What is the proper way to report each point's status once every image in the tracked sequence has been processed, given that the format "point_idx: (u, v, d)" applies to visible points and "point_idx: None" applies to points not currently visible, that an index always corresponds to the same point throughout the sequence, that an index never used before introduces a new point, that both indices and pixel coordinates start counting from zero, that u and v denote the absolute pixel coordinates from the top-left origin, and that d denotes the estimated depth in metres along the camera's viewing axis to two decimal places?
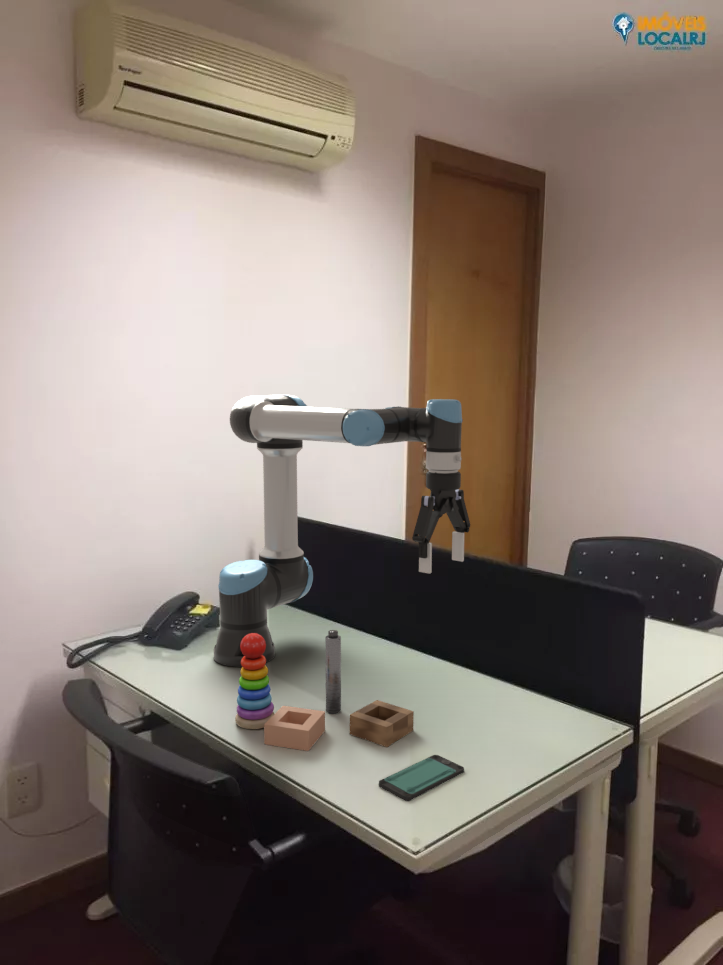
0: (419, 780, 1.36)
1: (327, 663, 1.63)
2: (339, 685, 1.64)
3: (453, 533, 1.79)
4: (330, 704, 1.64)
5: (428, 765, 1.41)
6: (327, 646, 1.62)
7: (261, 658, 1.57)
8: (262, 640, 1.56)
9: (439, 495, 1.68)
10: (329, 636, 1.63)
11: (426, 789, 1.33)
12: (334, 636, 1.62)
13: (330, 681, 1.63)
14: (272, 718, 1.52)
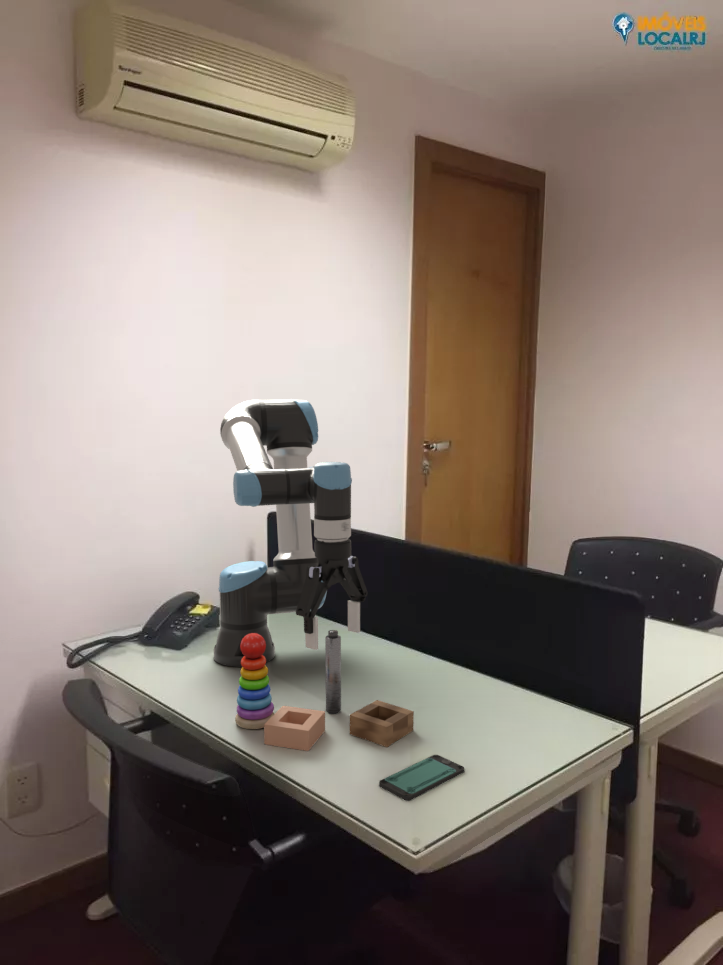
0: (420, 779, 1.36)
1: (327, 663, 1.63)
2: (339, 685, 1.64)
3: (348, 602, 1.68)
4: (330, 704, 1.64)
5: (428, 765, 1.41)
6: (327, 646, 1.62)
7: (261, 658, 1.57)
8: (262, 640, 1.56)
9: (326, 565, 1.58)
10: (329, 636, 1.63)
11: (427, 789, 1.33)
12: (334, 636, 1.62)
13: (330, 681, 1.63)
14: (272, 718, 1.52)
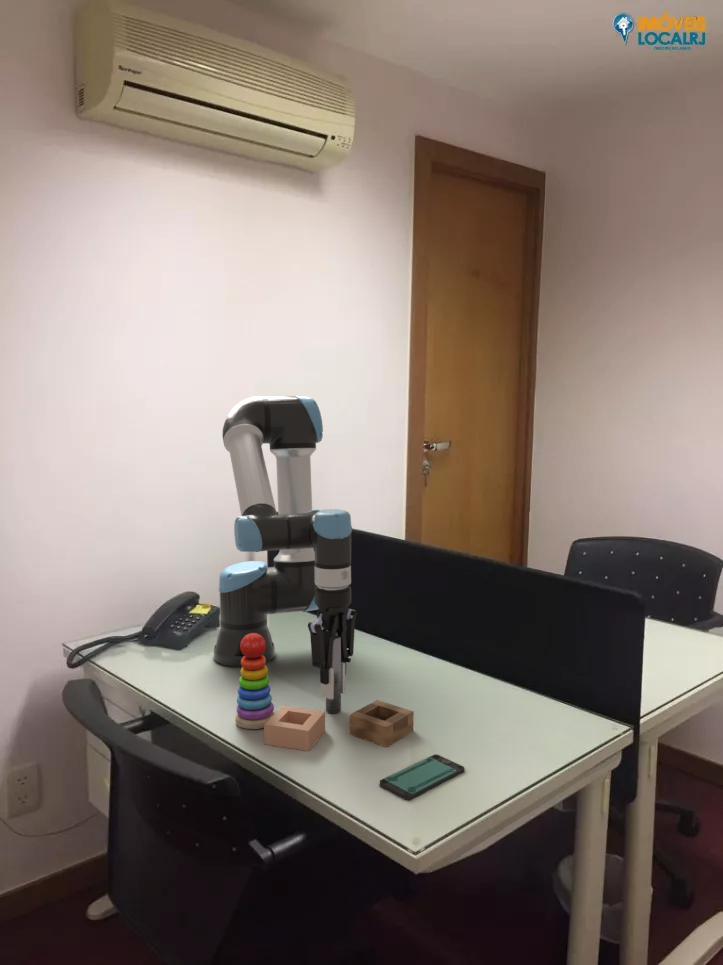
0: (420, 779, 1.36)
1: None
2: (339, 685, 1.64)
3: None
4: (330, 704, 1.64)
5: (428, 765, 1.41)
6: None
7: (261, 658, 1.57)
8: (262, 640, 1.56)
9: (325, 614, 1.59)
10: None
11: (427, 789, 1.33)
12: (334, 636, 1.62)
13: None
14: (272, 718, 1.52)
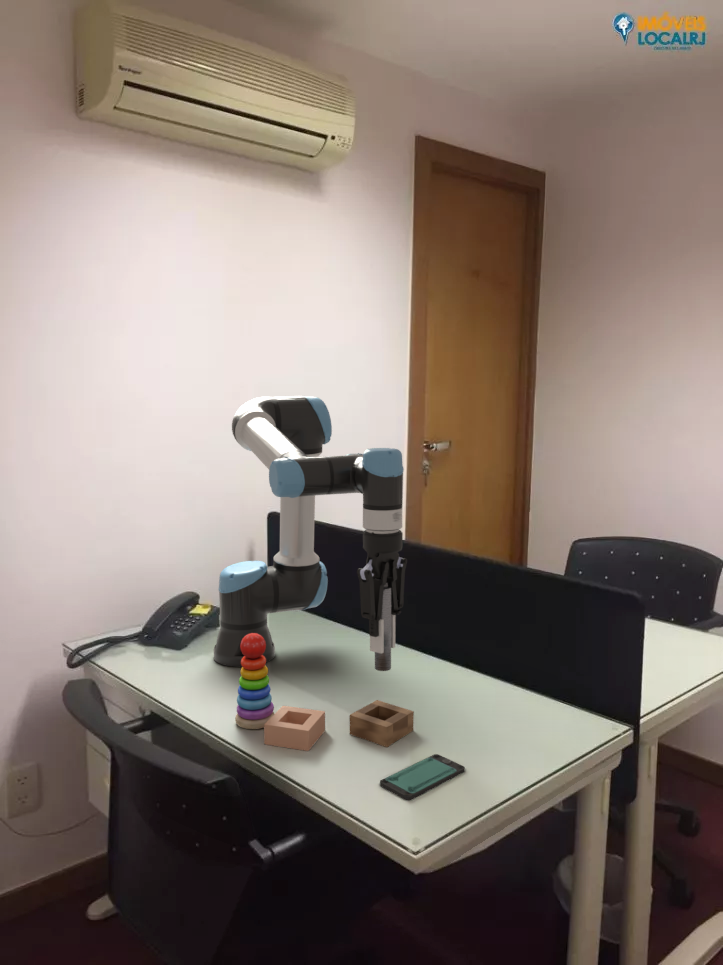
0: (420, 779, 1.36)
1: None
2: (390, 640, 1.52)
3: None
4: (380, 660, 1.51)
5: (429, 764, 1.41)
6: None
7: (261, 658, 1.57)
8: (262, 640, 1.56)
9: (375, 560, 1.47)
10: None
11: (427, 789, 1.33)
12: (384, 586, 1.50)
13: None
14: (272, 718, 1.52)
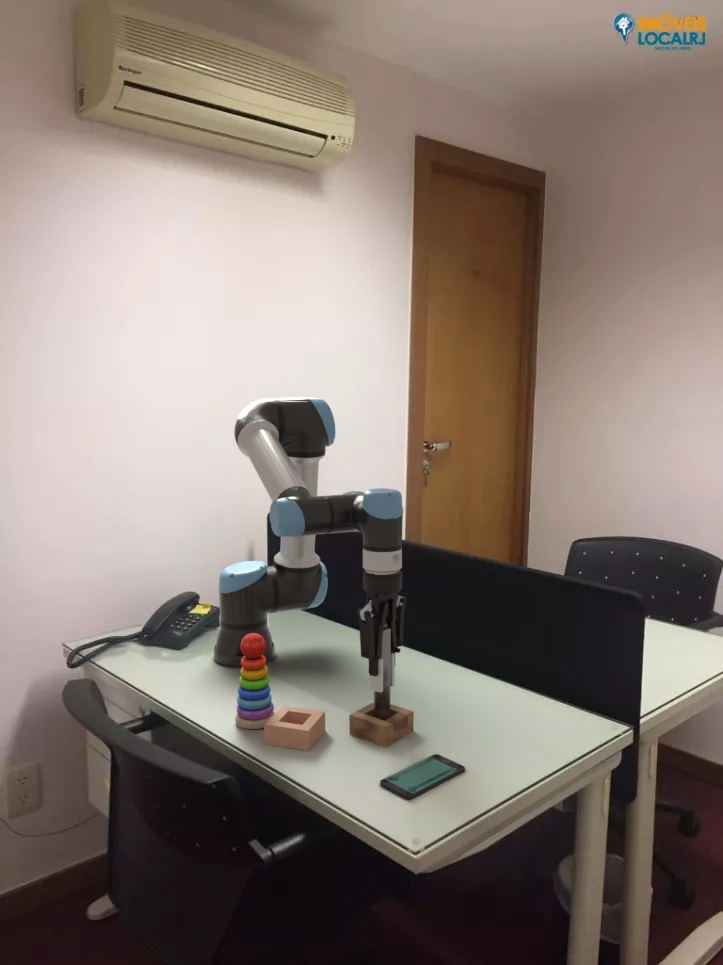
0: (420, 779, 1.36)
1: None
2: (389, 680, 1.53)
3: None
4: (379, 699, 1.53)
5: (429, 764, 1.41)
6: None
7: (261, 658, 1.57)
8: (262, 640, 1.56)
9: (375, 601, 1.48)
10: None
11: (427, 789, 1.33)
12: (384, 627, 1.51)
13: None
14: (272, 718, 1.52)
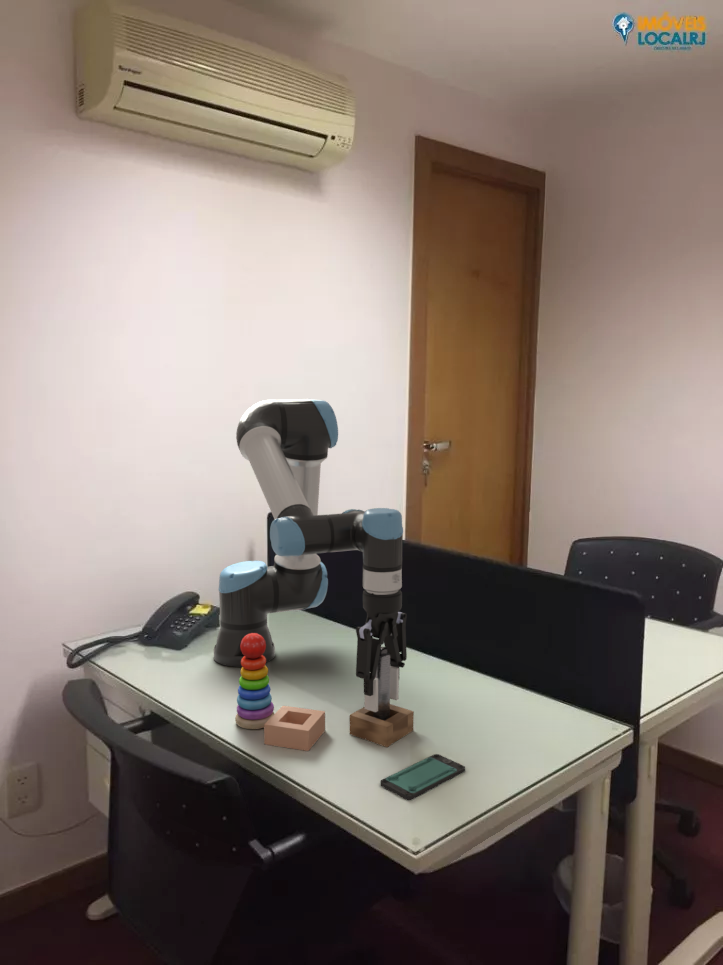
0: (421, 779, 1.36)
1: None
2: (388, 706, 1.54)
3: None
4: None
5: (429, 764, 1.41)
6: None
7: (261, 658, 1.57)
8: (262, 640, 1.56)
9: (375, 620, 1.49)
10: None
11: (428, 789, 1.33)
12: (383, 653, 1.52)
13: (379, 701, 1.53)
14: (272, 718, 1.52)
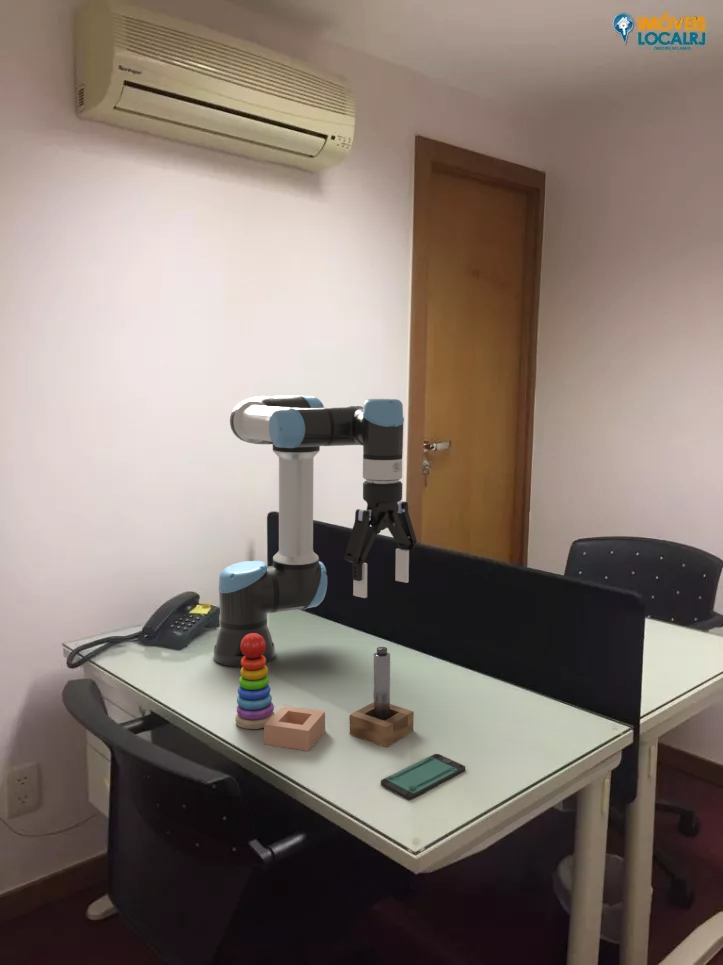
0: (421, 779, 1.36)
1: (376, 682, 1.53)
2: (388, 706, 1.54)
3: (396, 550, 1.58)
4: None
5: (429, 764, 1.41)
6: (376, 664, 1.52)
7: (261, 658, 1.57)
8: (262, 640, 1.56)
9: (376, 508, 1.48)
10: (378, 653, 1.52)
11: (428, 788, 1.34)
12: (383, 653, 1.52)
13: (379, 701, 1.53)
14: (272, 718, 1.52)
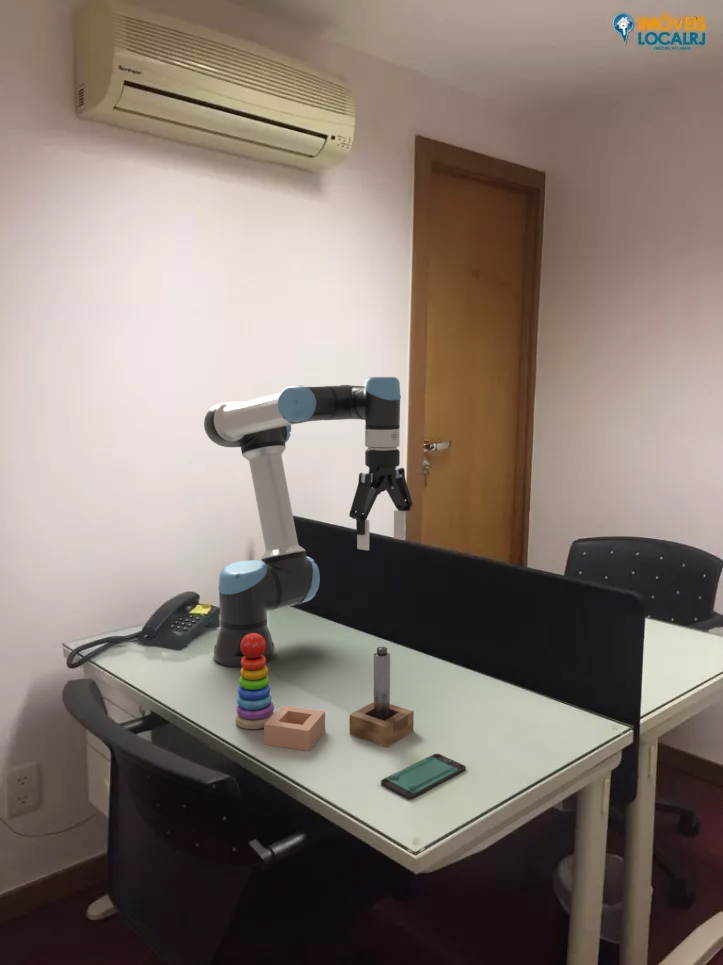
0: (421, 779, 1.36)
1: (376, 682, 1.53)
2: (388, 706, 1.54)
3: (395, 511, 1.79)
4: None
5: (430, 764, 1.41)
6: (376, 664, 1.52)
7: (261, 658, 1.57)
8: (262, 640, 1.56)
9: (377, 472, 1.69)
10: (378, 653, 1.52)
11: (428, 788, 1.34)
12: (383, 653, 1.52)
13: (379, 701, 1.53)
14: (272, 718, 1.52)
